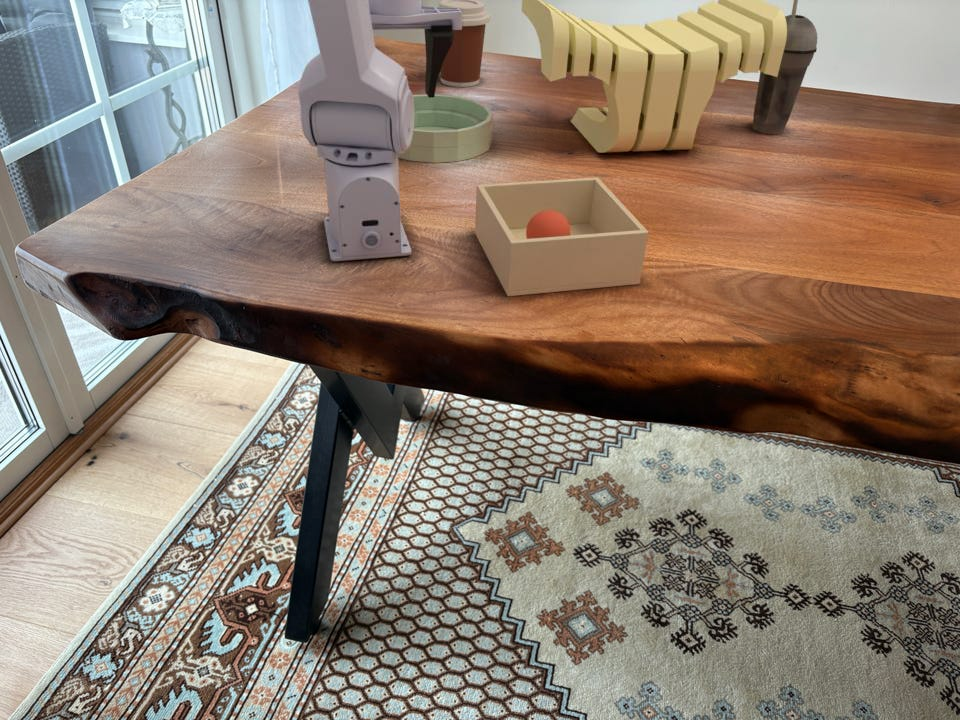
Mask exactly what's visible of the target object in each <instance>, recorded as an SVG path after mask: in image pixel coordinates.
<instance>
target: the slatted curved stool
mask: <svg viewBox="0 0 960 720" xmlns="http://www.w3.org/2000/svg"><path fill="white" fill-rule="evenodd" d="M521 12H522V13H523V14H524V15H525V16H526V18H527V19H528V20H529V22H530V24H532V26H533V28H534V30H535V32H536V35H537V38H538V41H539V46H540V47H539V49H540V63H541V64H540V72H541V73H542V74H543V76H544V77H545V78H547V80H548V81H549V82H550V83H551V82H554V81H557V80H562V79H566V78H567V73H569V74H570V75H571V76H572V77H589V73H590V75H592V76H593V77H594V78H595V79H598V80H601V82H602V87H603V90H604V93H605V97H606V102H607V107H606V106H603V107H601V110H599V109H598V108H597V107H578V108H577V110H576V111H575V114H574V115H573V117H572V118H571V119H570V123H571V124H572V125H573V126H574V127H575V128H576V129H577V130H578V131H579V133H580V134H581V135H582V136H583V137H584V139H586V141H587V142H588V143H589V144H590V145H591V146H592V147H593V149H595V151H596V152H597V153H601V154H602V153H604V154H605V153H626V152H627V153H628V152H630V151H631V152H655V151H657V152H658V151H659V152H660V151H663V150H664V151H680V150H681V151H682V150H683V151H684V150H692V149H693V147H694V142H695V137H696V133H697V129H698V125H699V122H700V120H701V118H702V116H703V113H704V111H705V109H706V107H707V105H708V104H709V101H710V100H711V97H712V96H713V94H714V89H715V85H716V81H718V82H720V84H723V83H725V81H727V80H729V79H731V78H733V77H736V76H738V73H739V72H741V73H743V74H751V73H752V74H753V73H754V74H758V73H759V72H760V71H761V72H763V73H764V74H768V75H772V76H775V77H777V76H778V72H779V68H780V64H781V60H782V56H783V52H784V48H785V44H786V38H787V23H786V18H785V16H786V15H785V13H784V12H783V10H782V8H780V7H778V6H776V5H774V4H771V3H769V2H766V1H764V0H717V2H716V1H714V0H710V1H708V2H706V3H704V4H702V5H700V6H698V7H697V12H695V11H693V10H689V11H686V12H683V13H681V14H679V15H678V14H677V20H676V19H674V18H673V17H669V18H664V19H662V20H659V21H658V20H657V21H653V22H648V23H644V27H643V26H642V25H640V24H626V25H625V24H612V26H610V25H609V24H607V23H603V22H598V21H593V20H590V19H586V18H583V17H581V18H578V17H577V16H576V15H574V14H571V13H569V12H567V11H564V10H559V8H557V7H556V6H554V5H552V4H550V3H548V2H546V1H544V0H521Z"/></svg>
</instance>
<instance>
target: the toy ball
mask: <svg viewBox="0 0 960 720" xmlns="http://www.w3.org/2000/svg"><path fill="white" fill-rule="evenodd" d="M570 233H571V232H570V226H569V223H568V221H567V219H566V218H565V217H564V216H563V215H562V214H560V213H559V212H556V211H553V210H544V211H541V212H538V213H537V214H535V215H534V216H533V217H532V218H531V219H530V221H529V223H528V225H527V229H526V237H527V239H533V238H546V237H559V236H570Z"/></svg>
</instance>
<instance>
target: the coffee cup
mask: <svg viewBox="0 0 960 720" xmlns="http://www.w3.org/2000/svg"><path fill="white" fill-rule="evenodd" d="M438 7H444V8H459V9H460V10H461V11H462V30H452V33H453V34H454V40H453V43H452V46H451V48H450V49H449V51H448V53H447V55H446V57H445V60H444V62H443V65H442V67H441V70H440V74H439V75H440V83H442V84H443V85H446V86H450V87H455V88H456V87H459V88H464V87H465V88H467V87H473V86H477V85H479V83H480V82H481V81H480V80H481V79H480V77H481V71H482V70H481V69H482V60H483V50H484V43H485V35H486V27H487V26H486V25H487V24H489V23H490V21H491V14H489V13H488V12H487V10H486V9H485V3H484V2H482V1H480V0H441V1H439V3H438Z"/></svg>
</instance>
